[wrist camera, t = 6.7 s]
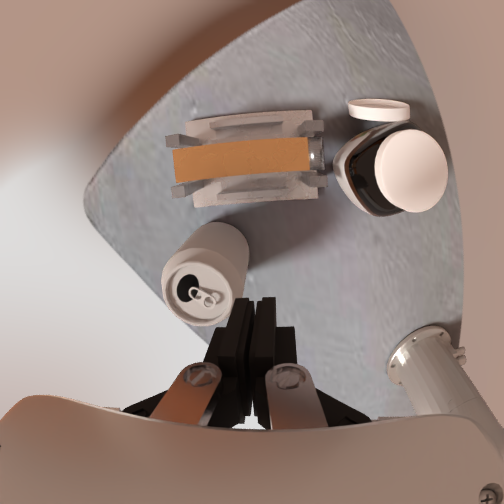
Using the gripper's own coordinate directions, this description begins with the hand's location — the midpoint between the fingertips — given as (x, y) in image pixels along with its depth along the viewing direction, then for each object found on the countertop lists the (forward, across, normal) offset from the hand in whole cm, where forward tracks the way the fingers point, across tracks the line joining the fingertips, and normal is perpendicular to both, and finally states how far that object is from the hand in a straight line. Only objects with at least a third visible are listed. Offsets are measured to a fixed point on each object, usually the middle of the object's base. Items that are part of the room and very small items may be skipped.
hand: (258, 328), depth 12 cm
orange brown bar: (+16, +1, -7) cm, 17 cm away
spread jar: (+22, -12, -9) cm, 27 cm away
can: (+22, +6, +3) cm, 23 cm away
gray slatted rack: (+22, +2, -8) cm, 23 cm away
